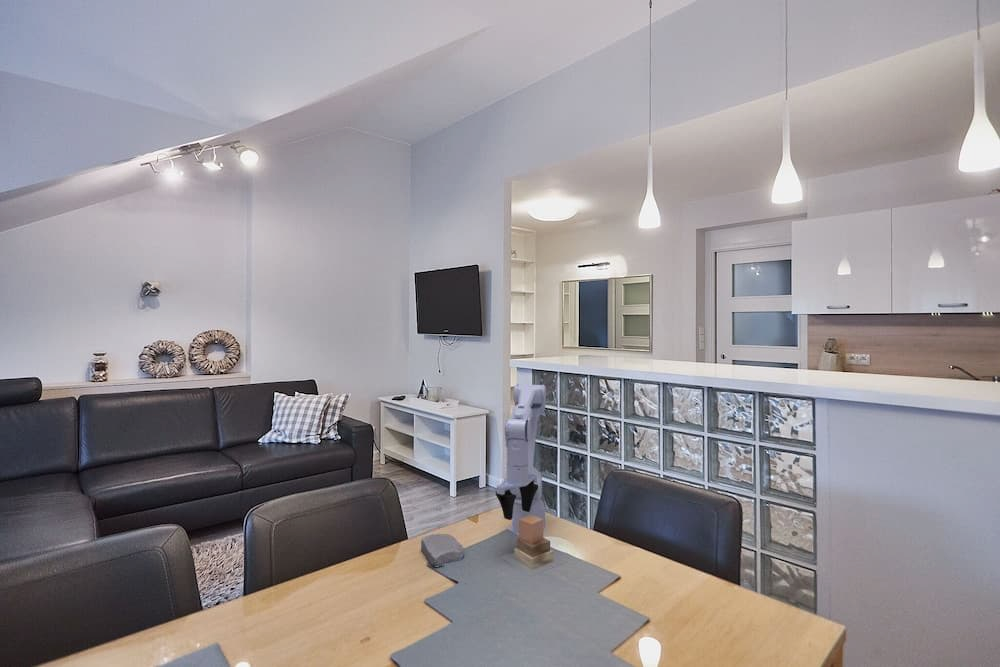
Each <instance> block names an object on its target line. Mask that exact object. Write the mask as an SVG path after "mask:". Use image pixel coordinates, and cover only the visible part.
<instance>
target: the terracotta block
mask: <svg viewBox="0 0 1000 667" xmlns="http://www.w3.org/2000/svg"><path fill="white" fill-rule="evenodd" d="M518 538H519V539H521V540H524V541H526V542H529V543H531V544H533V543H535V542H537V541H539V540H541V539H543V538H544V530H543V519H541V518H539V517H536V516H533V515H528V516H526V517H523V518H521V519H519V535H518Z"/></svg>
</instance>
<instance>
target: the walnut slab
mask: <svg viewBox="0 0 1000 667" xmlns="http://www.w3.org/2000/svg"><path fill="white" fill-rule="evenodd" d="M516 548H517V549H519V550H520V551H522V552H524V553H525V554H527V555H529V556H530V557H535V556H537V555H540V554H543V553H546V552H548V551H550V550H551V541H550V540H549V539H547V538H545V537H543V539H541V540H539V541H537V542H535V543H533V544H531V543H529V542H526V541H524V540H521V539H519V537H518V538H517V539H516Z"/></svg>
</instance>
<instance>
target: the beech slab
mask: <svg viewBox="0 0 1000 667" xmlns="http://www.w3.org/2000/svg"><path fill="white" fill-rule="evenodd" d="M513 550H514V552H513V553H514V558H515V559H517V560H518V561H520V562H522V563H523V564H525V565H526V566H528V567H530V568H531V569H533V568H535V567H538V566H541V565H543V564H546V563H549V562H551V561H553V554H554V550H552V549H550V551H548V552H546V553H543V554H540V555H537V556H535V557H530V556H529V555H527V554H525V553H524V552H522V551H520V550H519V549H517V547H515V548H514V549H513Z"/></svg>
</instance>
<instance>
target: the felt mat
mask: <svg viewBox="0 0 1000 667" xmlns="http://www.w3.org/2000/svg"><path fill="white" fill-rule="evenodd" d="M500 558H501V559H503V560H504V561H506V562H508V563H509V564H511V565H512V566H514V567H515V568H517V569H519V570H520V571H522V572H523V573H524V574H526V575H528V576H529V577H532V576H535V575H537V574H540V573H542V572H546V571H548V570H551V569H553V568H555V567H556V568H557V567H558V566H560V565H563V564H565V563H567V561H566V560H564V559H562V558H561V557H559V556H557V555H555V554H554V553H553V561H551V562H549V563H546V564H543V565H541V566H538V567H535V568H533V569H531V568H530V567H528V566H526V565H525V564H523V563H522V562H520V561H518V560H517V559H515V558H514V552H511V553H508V554H505V555H502V556H500Z"/></svg>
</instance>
